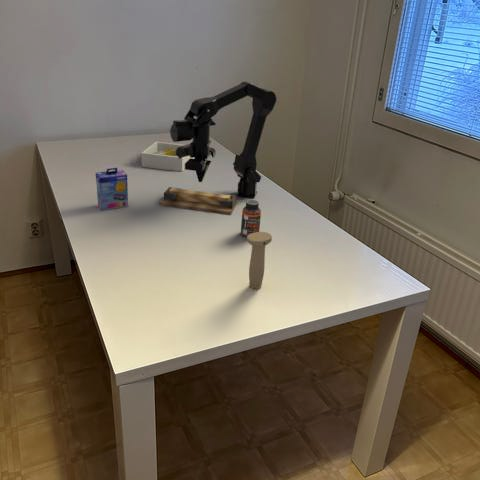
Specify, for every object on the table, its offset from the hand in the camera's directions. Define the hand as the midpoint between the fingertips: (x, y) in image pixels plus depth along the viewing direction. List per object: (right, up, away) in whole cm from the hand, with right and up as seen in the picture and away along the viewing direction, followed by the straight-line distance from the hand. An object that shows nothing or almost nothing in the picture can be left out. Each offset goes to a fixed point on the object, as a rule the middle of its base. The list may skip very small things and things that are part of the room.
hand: (200, 181), depth 174 cm
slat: (-1, -6, +3) cm, 7 cm away
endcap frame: (0, -7, +4) cm, 8 cm away
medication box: (-20, +14, +44) cm, 51 cm away
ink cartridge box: (-30, -9, -2) cm, 32 cm away
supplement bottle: (+17, -19, -16) cm, 30 cm away
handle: (+18, -33, -43) cm, 58 cm away
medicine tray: (-17, +13, +42) cm, 47 cm away
